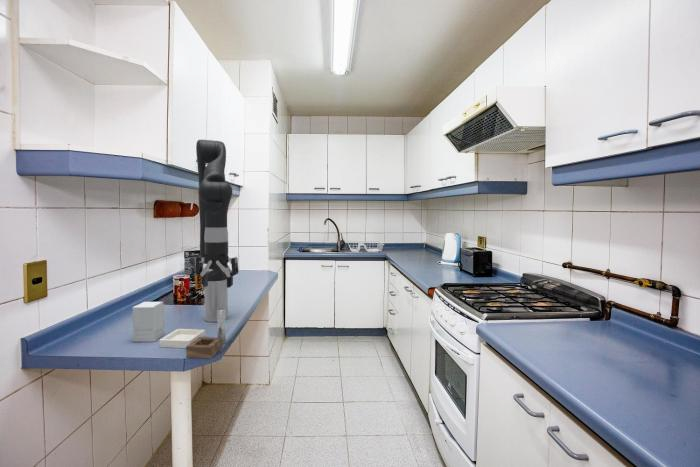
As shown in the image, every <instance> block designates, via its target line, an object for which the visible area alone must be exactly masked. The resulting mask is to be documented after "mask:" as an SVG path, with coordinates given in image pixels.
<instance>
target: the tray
mask: <svg viewBox="0 0 700 467" xmlns="http://www.w3.org/2000/svg"><path fill="white" fill-rule="evenodd" d="M199 337H206V329H195V328H194V329H191V328H177V329H175V330H173V331H172V332H170V333H169V334H166V335H165V336H164V337H161V338H160V339H158V340H159V348H168V349H169V348H174V349H186V346H188V345H189V344H190V343H192V342H193V341H195V340H196V339H197V338H199Z"/></svg>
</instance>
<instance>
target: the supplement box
mask: <svg viewBox="0 0 700 467" xmlns="http://www.w3.org/2000/svg"><path fill="white" fill-rule="evenodd" d="M164 307H165V306H164V301H143V302H141V303H139V304H137V305H134V306H132V308H131V309H132V311H131V312H132V331H133V343H134V342H135V343H137V342H138V343H139V342H142V343H143V342H150V343H151V342H152V343H153V342H156V341H157V340H160V339H161V338H162V337H163V336H164V335H165V313H164V312H165V310H164ZM159 338H160V339H159Z"/></svg>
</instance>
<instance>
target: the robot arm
mask: <svg viewBox="0 0 700 467" xmlns="http://www.w3.org/2000/svg"><path fill="white" fill-rule="evenodd" d="M195 149H196V150H195V152H196V163H197V174H198V175H197V176H198V209H199V224H200V226H199V227H200V231H199V240H200V241H199V256H197V257H195V269H194V270H195V271H194V272H195V274H196V275H198V276H200V277H201V279H200V280H201V281H200V282H201V283H200V284H201V286H202V287H203V288H204V292H203V293H204V294H203V295H204V321H206V322H209V323H212V322H215V323H218V316H217V310H218V309H225V320H227V319H228V317H229V307H228V306H229V305H228V304H229V303H228V296H229V295H228V292H229V291H228V289H230V288H231V287H232V286H233V285H234V276H236V275H238V274H239V261H238V257H237V256H235V257H230V256H229V231H228V211H229V206H230V202H231V199H232V196H233V187H232V186H231V184H230V183H228V182H226V175H225V169H226V163H227V149H226V145H225V143H224V142H223V141H220V140H213V139H211V140H210V139H198V140H197V141H196V148H195ZM228 263H230V265H231V267H230V266H229V265H228ZM203 264H204V265H205V266H204V268H203Z"/></svg>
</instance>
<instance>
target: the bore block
mask: <svg viewBox="0 0 700 467" xmlns="http://www.w3.org/2000/svg"><path fill="white" fill-rule="evenodd" d="M222 349H223V344H222V338H218V337H209V336H208V337H207V336H205V337H199V338H197V339H196V340H195V341H193V342H192V343H190V344H189V345H188V346H186V348H185V351H186V352H185V353H186V356H185V357H186V358H189V359H190V358H192V359H193V358H194V359H213V357H214V356H216V354H218V352H219V351H221V350H222Z"/></svg>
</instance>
